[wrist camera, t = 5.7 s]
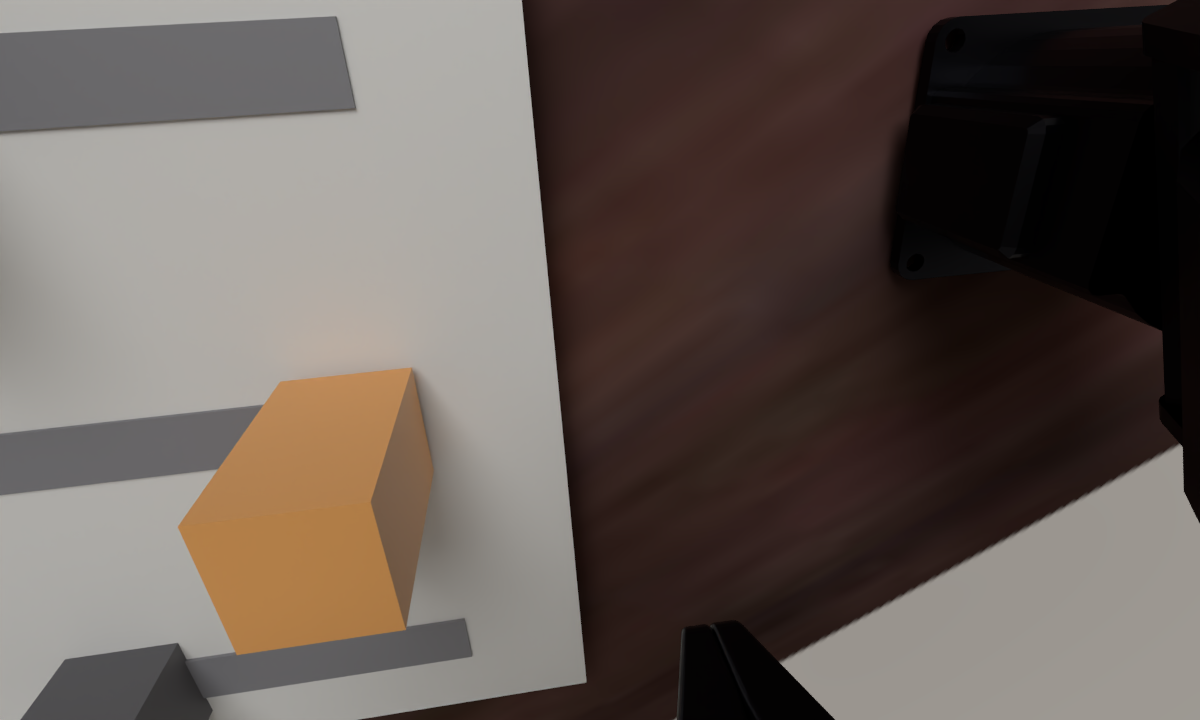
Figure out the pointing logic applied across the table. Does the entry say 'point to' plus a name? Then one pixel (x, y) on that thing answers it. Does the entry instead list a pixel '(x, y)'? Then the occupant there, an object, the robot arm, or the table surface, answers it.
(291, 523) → the block
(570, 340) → the table surface
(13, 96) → the breaker panel
